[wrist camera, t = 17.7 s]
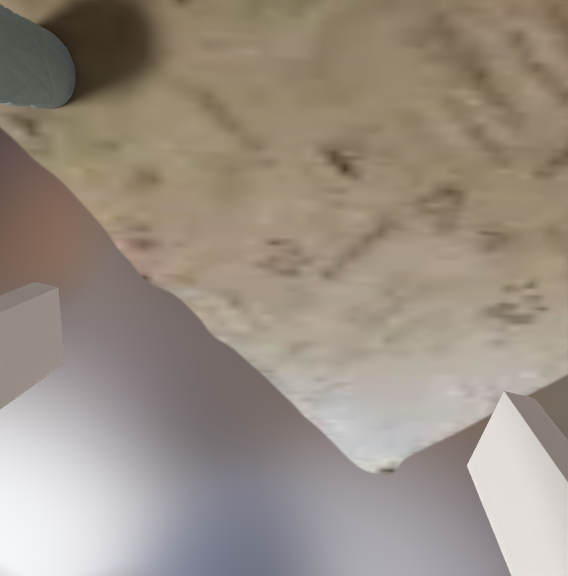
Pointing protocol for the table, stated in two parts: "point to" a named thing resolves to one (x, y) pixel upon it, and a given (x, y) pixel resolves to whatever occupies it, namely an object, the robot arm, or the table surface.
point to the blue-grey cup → (33, 64)
